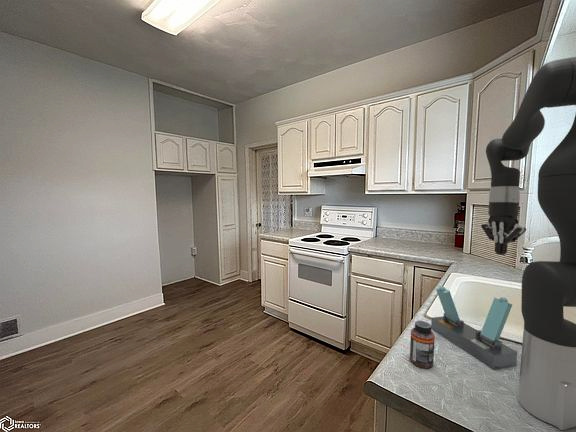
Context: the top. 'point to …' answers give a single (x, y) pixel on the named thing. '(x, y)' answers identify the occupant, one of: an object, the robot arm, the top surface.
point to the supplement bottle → (422, 345)
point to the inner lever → (495, 320)
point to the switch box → (475, 343)
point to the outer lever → (448, 304)
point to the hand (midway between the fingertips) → (500, 254)
